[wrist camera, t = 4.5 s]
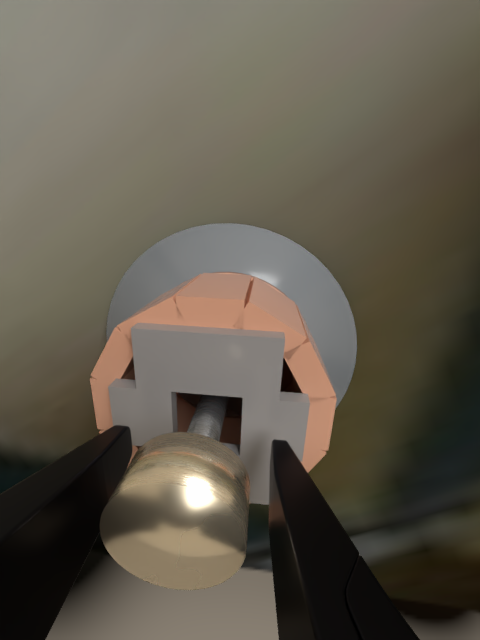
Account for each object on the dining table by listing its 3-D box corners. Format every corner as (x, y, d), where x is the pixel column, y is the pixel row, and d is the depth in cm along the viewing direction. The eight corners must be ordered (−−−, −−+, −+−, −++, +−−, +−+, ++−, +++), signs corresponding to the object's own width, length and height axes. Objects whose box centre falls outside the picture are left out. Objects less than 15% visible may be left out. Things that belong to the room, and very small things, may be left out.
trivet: (334, 456, 16) (337, 465, 16) (124, 436, 17) (119, 444, 16) (374, 228, 12) (380, 228, 12) (98, 217, 13) (91, 217, 12)
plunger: (278, 415, 14) (290, 635, 7) (171, 406, 14) (68, 605, 7) (287, 311, 12) (319, 449, 5) (166, 304, 13) (23, 421, 5)
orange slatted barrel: (298, 461, 16) (312, 568, 11) (153, 447, 16) (106, 542, 11) (322, 276, 12) (357, 311, 8) (140, 267, 13) (65, 294, 8)
